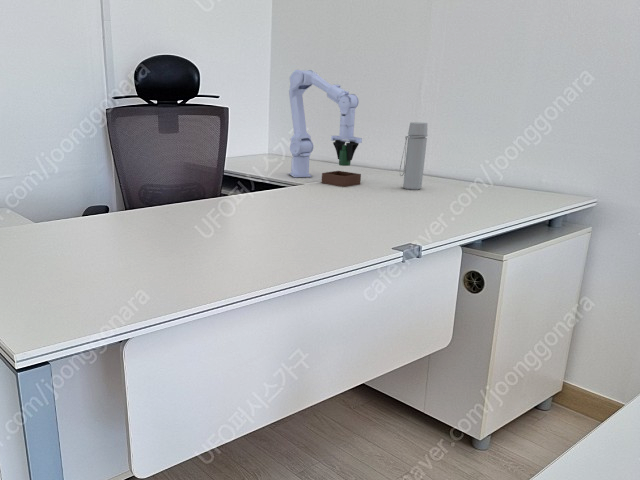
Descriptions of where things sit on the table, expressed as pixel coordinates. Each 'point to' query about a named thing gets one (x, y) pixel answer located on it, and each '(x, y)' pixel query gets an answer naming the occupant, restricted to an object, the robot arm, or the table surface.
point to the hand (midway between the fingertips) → (344, 159)
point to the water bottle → (415, 155)
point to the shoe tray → (341, 178)
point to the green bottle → (343, 157)
